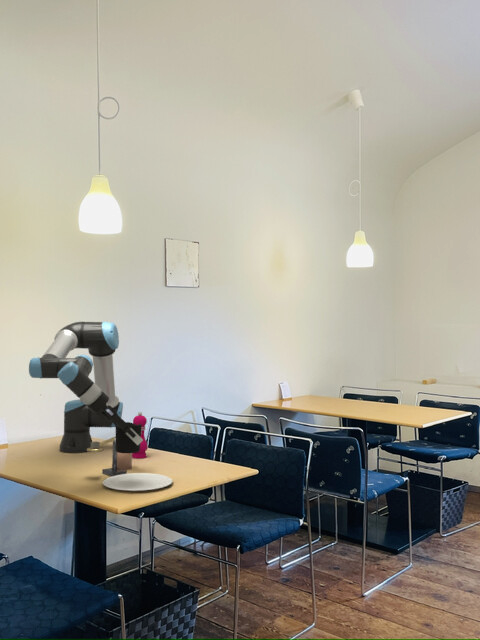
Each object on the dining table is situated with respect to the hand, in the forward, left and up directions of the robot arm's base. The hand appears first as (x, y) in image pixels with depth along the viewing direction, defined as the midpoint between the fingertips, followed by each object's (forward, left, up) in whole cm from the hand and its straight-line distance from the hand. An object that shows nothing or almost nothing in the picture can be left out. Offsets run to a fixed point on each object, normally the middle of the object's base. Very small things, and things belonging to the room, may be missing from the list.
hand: (136, 440), depth 219 cm
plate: (+3, -1, -16) cm, 16 cm away
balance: (-16, +1, -15) cm, 22 cm away
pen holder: (-1, -3, -4) cm, 5 cm away
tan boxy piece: (-23, +9, -15) cm, 29 cm away
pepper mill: (-36, +26, -16) cm, 47 cm away
